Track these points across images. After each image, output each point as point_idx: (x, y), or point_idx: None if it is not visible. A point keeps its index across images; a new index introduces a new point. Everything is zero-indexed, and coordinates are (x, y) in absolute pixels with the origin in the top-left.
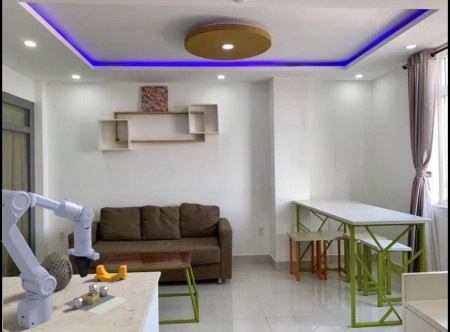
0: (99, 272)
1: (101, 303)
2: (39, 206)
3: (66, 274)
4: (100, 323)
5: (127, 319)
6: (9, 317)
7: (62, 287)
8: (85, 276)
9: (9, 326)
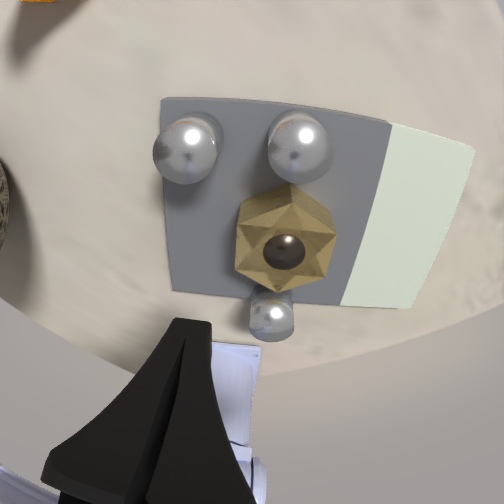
0: None
1: (360, 228)
2: None
3: None
4: (425, 318)
5: (498, 271)
6: (109, 360)
7: (7, 187)
8: (211, 338)
9: None
